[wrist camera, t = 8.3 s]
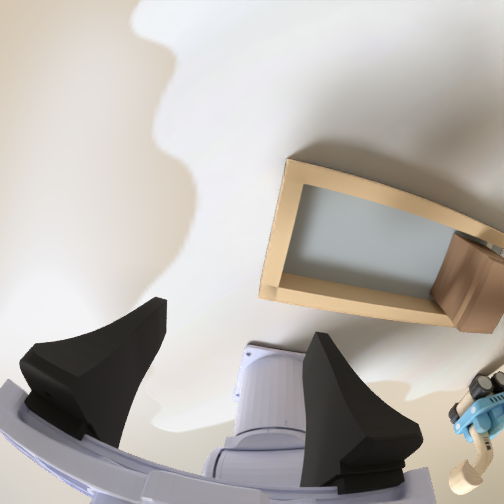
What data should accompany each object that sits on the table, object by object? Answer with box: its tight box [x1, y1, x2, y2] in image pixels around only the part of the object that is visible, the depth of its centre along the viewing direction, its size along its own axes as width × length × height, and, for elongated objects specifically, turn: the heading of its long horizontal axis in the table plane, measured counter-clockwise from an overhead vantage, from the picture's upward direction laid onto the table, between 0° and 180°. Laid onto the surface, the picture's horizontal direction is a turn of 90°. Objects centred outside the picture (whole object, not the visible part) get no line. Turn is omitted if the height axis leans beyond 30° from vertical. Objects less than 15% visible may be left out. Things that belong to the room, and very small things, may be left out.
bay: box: [258, 158, 504, 327], centre depth 19 cm, size 10×24×3 cm, turn 79°
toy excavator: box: [448, 371, 504, 495], centre depth 20 cm, size 9×17×17 cm, turn 83°
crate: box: [430, 234, 504, 334], centre depth 17 cm, size 6×5×6 cm
